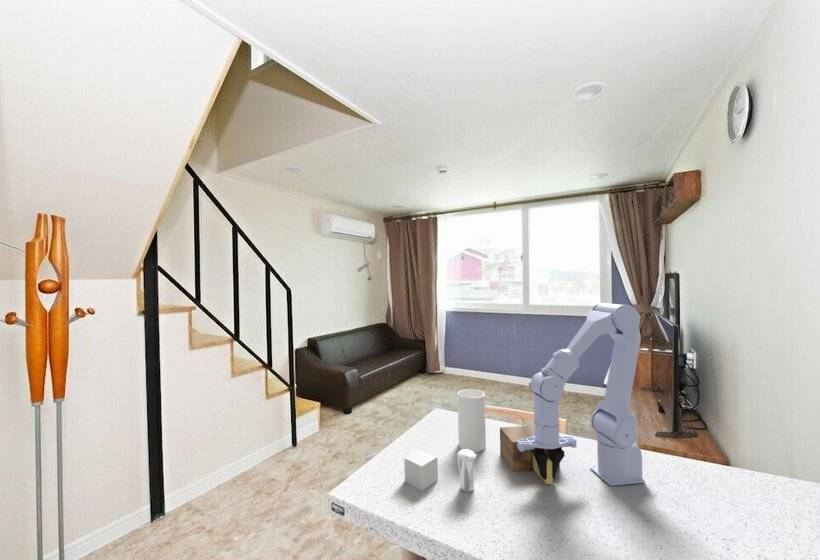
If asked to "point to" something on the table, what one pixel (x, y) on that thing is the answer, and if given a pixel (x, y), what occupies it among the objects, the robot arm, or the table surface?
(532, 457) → the ticket
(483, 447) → the cup
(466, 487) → the milkshake
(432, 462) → the white cube
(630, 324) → the robot arm
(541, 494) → the table surface
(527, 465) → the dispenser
